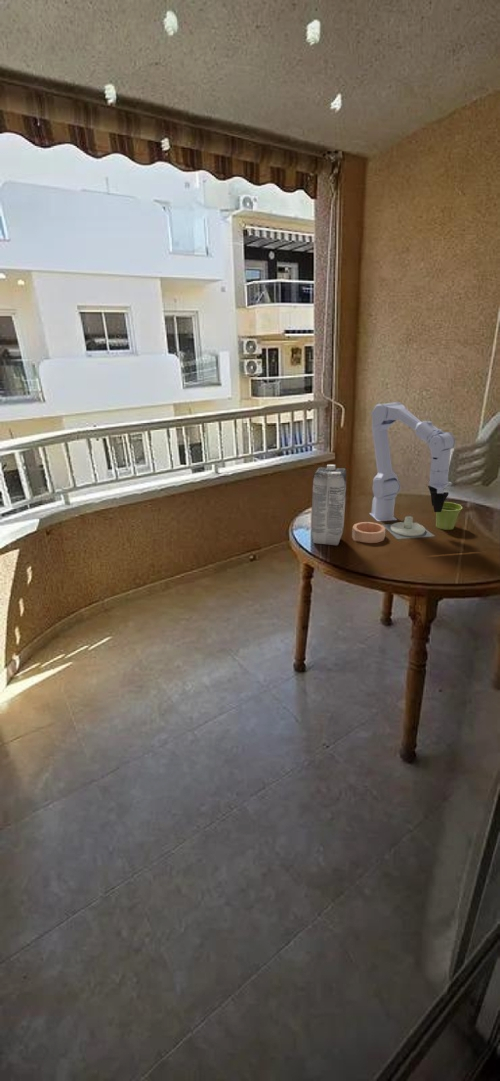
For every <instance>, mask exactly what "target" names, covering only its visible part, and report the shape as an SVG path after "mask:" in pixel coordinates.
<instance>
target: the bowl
mask: <svg viewBox="0 0 500 1081" xmlns="http://www.w3.org/2000/svg"><path fill="white" fill-rule="evenodd" d="M383 525H384V524H380V523H378V522H372V521H363V522H362V521H361V522H357V523H354V524H353V526H352V530H351V532H352V533H351V538H352V540H353V541H355V542H357V543H359V542H361V543H366V544H374V543H375V544H377V543H380V542H383V541H384V540H385V537H386V530H387V529H386V528H385V527H384V526H383Z"/></svg>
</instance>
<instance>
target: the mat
mask: <svg viewBox="0 0 500 1081" xmlns="http://www.w3.org/2000/svg"><path fill="white" fill-rule="evenodd" d="M413 523H416V524H419V525H421V524H420V523H419V522H414V521H413ZM392 524H393V523H390V524H387V523H386V524H382V525H383V526H384V527H385V528H386V529H385V530H386V531H388V532H389V533H390V535H392V536H393V537H394V538H395V539H396V540H404V539H405V540H406V539H417V538H419V539H420V538H429V537H430V538H431V537H434V538H435V534H433V533H431V532H430V530H428V529H426V528H425V533H424V534H423V535H421V536H415V537H409V536H402V535H398V534H395V533H393V532H392V531H391V529H390V528H391V525H392Z"/></svg>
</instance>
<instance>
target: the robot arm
mask: <svg viewBox="0 0 500 1081" xmlns="http://www.w3.org/2000/svg"><path fill="white" fill-rule="evenodd" d="M371 418H372V420H371V421H372V422H371V423H372V424H371V430H372V440H373V447H374V456H375V464H376V465H375V466H376V471H377V474H376V475H375V476H374V477H373V478H372V489H371V490H372V494H373V496H374V497H373V498H372V502H371V512H369V515H370V516H371V517H372V518H373V519H375V520H376V521H377V522H387V521H398V519H397V518H396V517H395V516H394V513H395V511H394V510H395V506H396V505H395V503H396V498H397V496H398V494H399V493H400V491H401V483H400V481H399V479H398V474H397V473H395V472H394V471H393V466H392V458H391V449H390V443H389V442H390V441H389V440H390V439H389V432H388V430H389V428H390V427H391V426H392V424H394V423H395V422H397V421H399V422H401V423H403V424H404V425H406V426H407V427H409V428H411V429H412V430H413V431H414V435H415V436H416V437H417V438H418V439H420V440H421V441H423V442H424V443H426V444H427V446H428V448H429V450H430V458H431V459H430V470H429V482H428V485H427V488H428V489H429V493H430V501H431V502H430V503H431V505H432V507H433V511H434V513H436V512H441V511H442V508H443V504H444V502H446V499H447V498H448V496H449V495H450V493H449V492H448V491H445V489H446V488H447V487H448V486H452V482H451V481H449V472H450V463H451V462H450V461H451V460H450V459H451V449H453V448H454V447H455V444H456V439H455V436H454V435H453V434H452V432H449V431H445V432H444V431H443V429H441V428H438V427H437V426H435V425H433V421H431V420H423V421H421V420H420V419H419V418H418V417H416V416H415V415H414V414H413V413H412V412H410V411H409V410H408V409H407V408H406V406H405V405H404V404H402V403H401V402H399V401H393V402H388V403H377V404H376V405H375V406H374V408H373V410H371Z"/></svg>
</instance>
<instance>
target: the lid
mask: <svg viewBox="0 0 500 1081" xmlns="http://www.w3.org/2000/svg"><path fill="white" fill-rule="evenodd" d="M391 524H392V525H391V528H390V529H391V531H392V532H393V533H395V534H398V535H402V536H409V537H415V536H421V535H423V534H424V533H425V529H426V528H425V527H424V526H423V525H422V524H420V523H419V524H420V525H419V524H416V523H414V516H409V515H407V516H404V521H400V522H399V521H398V522H394V523H391Z"/></svg>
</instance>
